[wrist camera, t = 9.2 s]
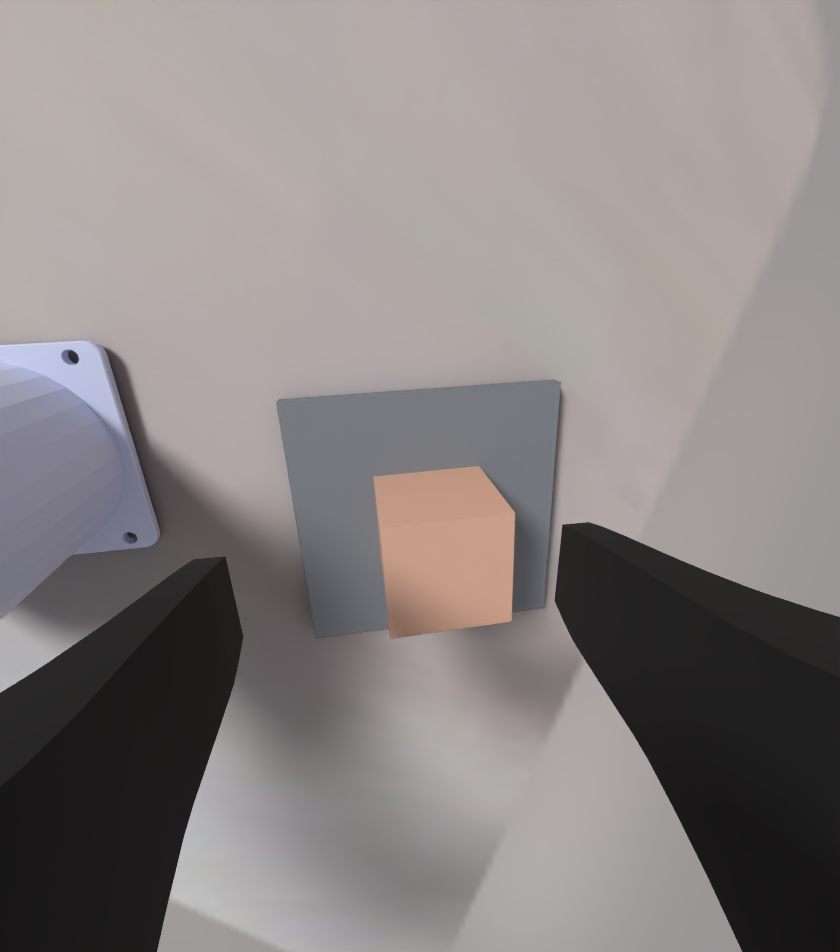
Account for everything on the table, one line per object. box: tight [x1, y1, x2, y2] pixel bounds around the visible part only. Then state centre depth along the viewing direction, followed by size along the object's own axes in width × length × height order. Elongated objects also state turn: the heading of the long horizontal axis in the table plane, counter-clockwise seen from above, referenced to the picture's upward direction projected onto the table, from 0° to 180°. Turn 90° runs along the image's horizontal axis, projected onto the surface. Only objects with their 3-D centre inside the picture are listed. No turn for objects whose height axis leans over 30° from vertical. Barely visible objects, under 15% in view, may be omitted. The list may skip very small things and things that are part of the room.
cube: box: [373, 466, 515, 639], centre depth 17 cm, size 4×4×4 cm
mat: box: [276, 380, 561, 638], centre depth 19 cm, size 11×11×1 cm
